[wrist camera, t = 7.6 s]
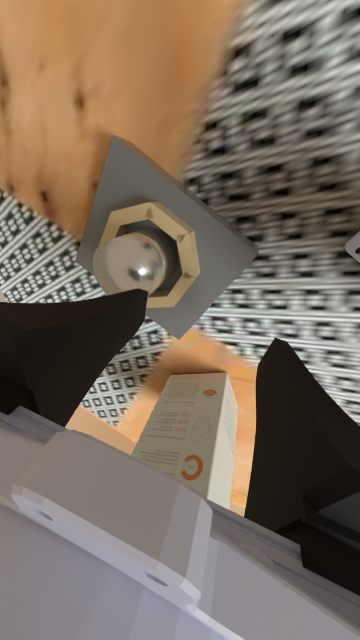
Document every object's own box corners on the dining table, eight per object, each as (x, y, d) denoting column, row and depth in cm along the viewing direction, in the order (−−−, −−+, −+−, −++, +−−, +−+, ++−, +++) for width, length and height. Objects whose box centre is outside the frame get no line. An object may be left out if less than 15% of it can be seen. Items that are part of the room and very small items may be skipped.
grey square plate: (258, 246, 17) (258, 259, 14) (185, 327, 23) (174, 348, 20) (131, 142, 16) (99, 129, 13) (91, 255, 23) (63, 265, 19)
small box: (184, 405, 31) (145, 517, 20) (169, 373, 28) (115, 481, 18) (239, 407, 27) (228, 543, 17) (228, 370, 25) (205, 503, 14)
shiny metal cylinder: (185, 242, 16) (160, 259, 12) (168, 288, 19) (143, 315, 15) (136, 217, 16) (96, 227, 12) (126, 266, 19) (90, 287, 15)
